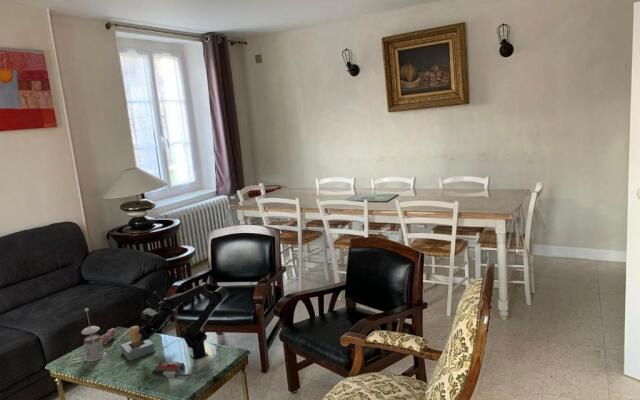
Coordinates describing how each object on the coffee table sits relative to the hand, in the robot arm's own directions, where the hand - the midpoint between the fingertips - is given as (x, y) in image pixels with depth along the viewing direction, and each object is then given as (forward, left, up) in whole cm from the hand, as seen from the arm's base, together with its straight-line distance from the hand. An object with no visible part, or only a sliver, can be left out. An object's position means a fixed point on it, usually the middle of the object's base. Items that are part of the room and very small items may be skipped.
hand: (146, 336), depth 231 cm
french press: (+18, +20, -9) cm, 29 cm away
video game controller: (+31, +10, -9) cm, 34 cm away
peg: (+5, +4, -8) cm, 11 cm away
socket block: (+5, +4, -8) cm, 11 cm away
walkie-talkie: (-28, -1, -9) cm, 30 cm away
